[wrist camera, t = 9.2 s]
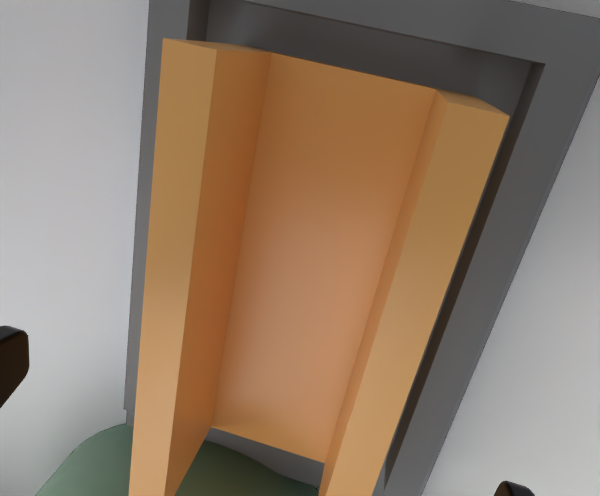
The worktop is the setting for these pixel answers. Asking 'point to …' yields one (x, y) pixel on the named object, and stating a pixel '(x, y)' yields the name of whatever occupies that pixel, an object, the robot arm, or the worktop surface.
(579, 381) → the worktop surface
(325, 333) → the chute
